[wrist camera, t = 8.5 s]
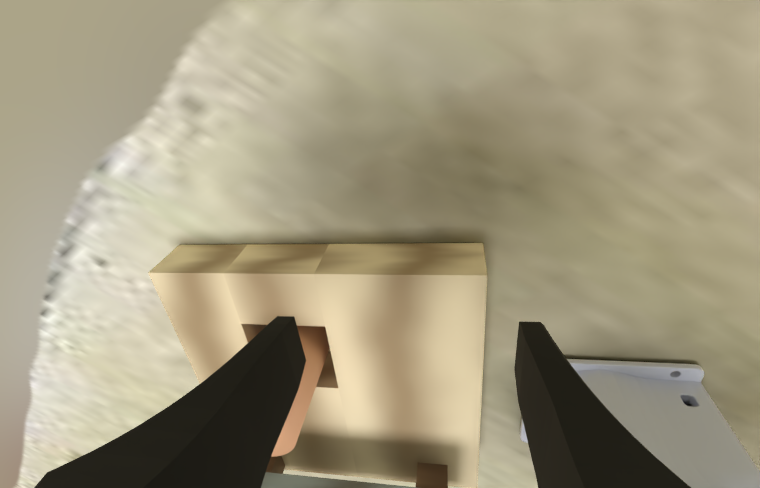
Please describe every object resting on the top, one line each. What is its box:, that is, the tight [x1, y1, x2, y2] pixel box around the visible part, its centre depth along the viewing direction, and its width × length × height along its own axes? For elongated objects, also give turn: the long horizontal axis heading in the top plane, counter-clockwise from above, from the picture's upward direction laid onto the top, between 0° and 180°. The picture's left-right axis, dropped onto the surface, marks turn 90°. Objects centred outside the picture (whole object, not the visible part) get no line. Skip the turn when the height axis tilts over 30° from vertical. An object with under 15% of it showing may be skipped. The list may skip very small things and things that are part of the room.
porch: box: [148, 243, 487, 488], centre depth 24 cm, size 18×18×7 cm
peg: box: [271, 326, 330, 457], centre depth 23 cm, size 4×4×8 cm
